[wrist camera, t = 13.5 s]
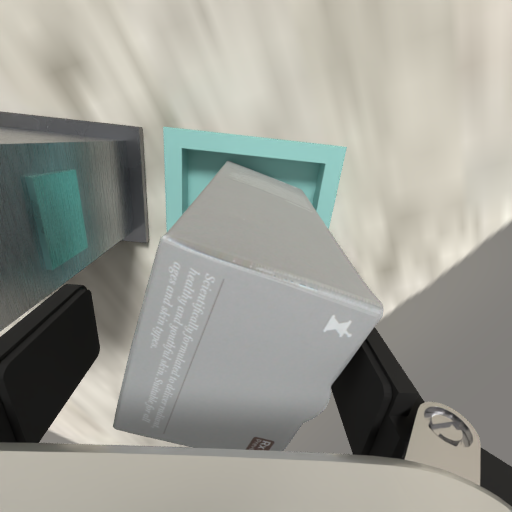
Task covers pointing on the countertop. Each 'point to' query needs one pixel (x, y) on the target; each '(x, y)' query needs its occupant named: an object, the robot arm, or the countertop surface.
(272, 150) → the tray
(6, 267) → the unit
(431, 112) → the countertop surface
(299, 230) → the skincare box
